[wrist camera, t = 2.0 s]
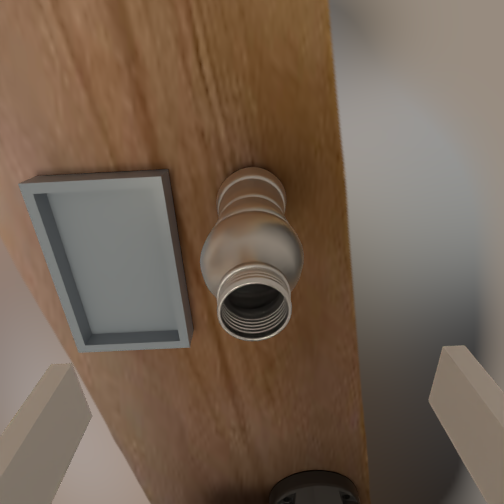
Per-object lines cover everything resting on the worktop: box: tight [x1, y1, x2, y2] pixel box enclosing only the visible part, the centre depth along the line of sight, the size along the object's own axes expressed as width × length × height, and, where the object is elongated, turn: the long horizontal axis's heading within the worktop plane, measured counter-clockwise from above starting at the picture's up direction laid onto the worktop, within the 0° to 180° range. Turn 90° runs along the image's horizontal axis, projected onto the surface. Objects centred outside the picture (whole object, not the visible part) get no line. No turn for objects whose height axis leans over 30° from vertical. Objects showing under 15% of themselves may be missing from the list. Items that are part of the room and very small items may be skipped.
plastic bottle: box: [200, 167, 304, 341], centre depth 25 cm, size 6×7×20 cm
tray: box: [18, 169, 193, 353], centre depth 36 cm, size 20×13×3 cm, turn 3°
